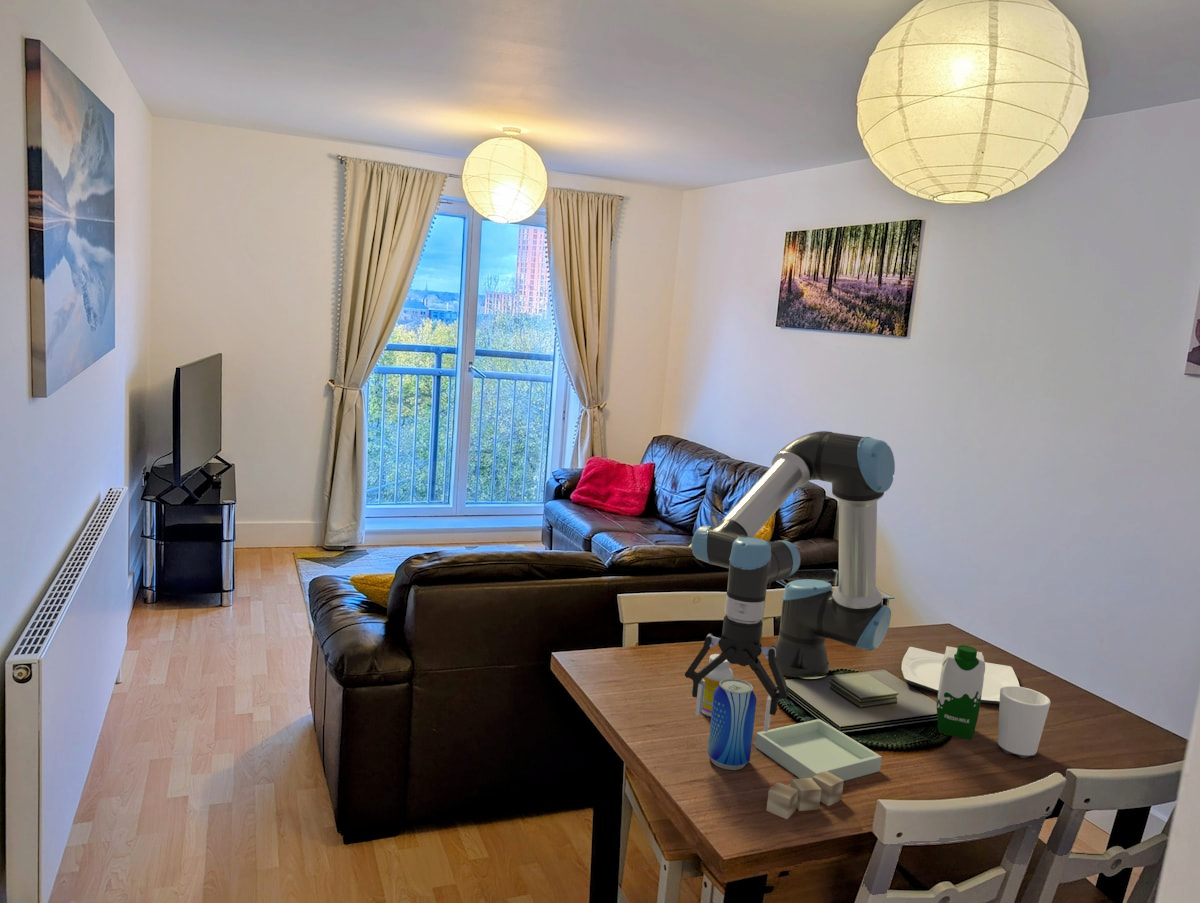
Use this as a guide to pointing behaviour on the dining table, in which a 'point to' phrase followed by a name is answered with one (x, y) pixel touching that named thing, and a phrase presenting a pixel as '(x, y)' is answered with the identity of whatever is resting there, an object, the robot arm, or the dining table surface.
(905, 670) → the plate
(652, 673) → the dining table surface
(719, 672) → the supplement bottle
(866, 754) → the tray
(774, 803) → the beech cube
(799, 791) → the beech cube
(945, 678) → the milk carton
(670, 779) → the dining table surface
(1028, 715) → the cup
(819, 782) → the beech cube
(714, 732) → the beer can
